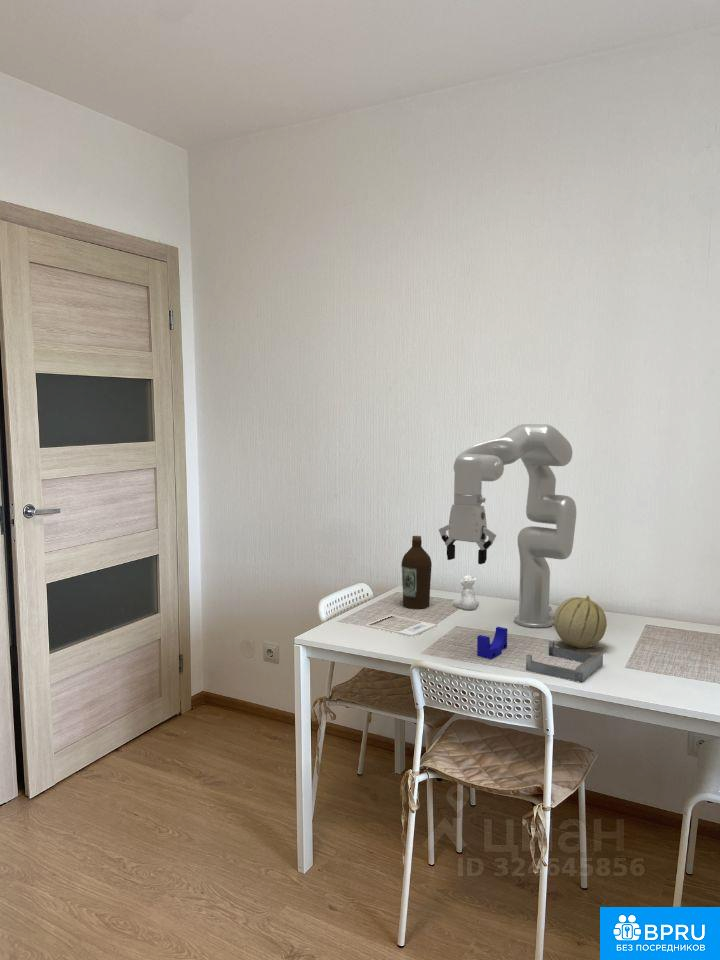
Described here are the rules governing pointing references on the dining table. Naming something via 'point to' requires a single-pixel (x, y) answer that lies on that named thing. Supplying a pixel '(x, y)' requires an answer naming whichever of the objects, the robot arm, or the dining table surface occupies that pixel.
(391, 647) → the dining table surface
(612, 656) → the dining table surface
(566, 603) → the cantaloupe
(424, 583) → the olive oil
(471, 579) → the sitting furry creature
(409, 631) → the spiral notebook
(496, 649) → the cable clip
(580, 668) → the frame
